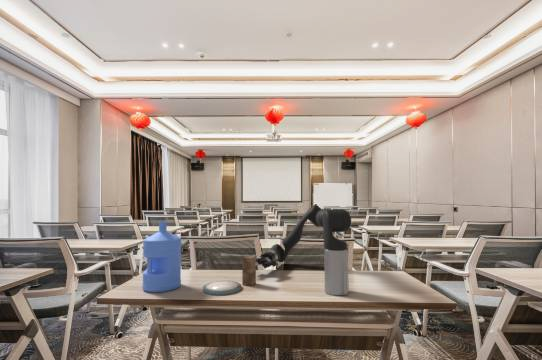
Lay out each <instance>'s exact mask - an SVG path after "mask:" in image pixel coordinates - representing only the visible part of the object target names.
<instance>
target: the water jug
mask: <svg viewBox="0 0 542 360" xmlns="http://www.w3.org/2000/svg"><path fill="white" fill-rule="evenodd" d="M167 222H168V221H159V222H158V224H159V225H158V231H157V232H156V233H154V234H151V235H149V236H148V237H147V238H146V237H145V238H144V239H143V243H142V246H143V247H142V250H143V254H142V255H143V257H145V258H146V269H145V270H144V271H143V272H142V284H141V285H142V287H141V288H142V290H143V291H144V292H147V293H167V292H170V291H174V290H176V289H178V288H180V286H181V284H182V278H181V274H182V273H181V269H182V255H181V254H182V238H181V236H179V235H176V234H174V233H171V232H169V231H168V230H167V226H168V225H167Z"/></svg>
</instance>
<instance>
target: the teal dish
mask: <svg viewBox="0 0 542 360" xmlns="http://www.w3.org/2000/svg"><path fill="white" fill-rule="evenodd" d="M241 290H242V284H241V283H239V282H237V281H234V280H233V281H232V280H219V281H212V282H209V283H206V284H205V285H203V286H202V292H203V293H204V294H206V295H210V296H227V295H228V296H229V295H233V294H236V293H238V292H240V291H241Z"/></svg>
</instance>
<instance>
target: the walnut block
mask: <svg viewBox="0 0 542 360" xmlns="http://www.w3.org/2000/svg"><path fill="white" fill-rule="evenodd" d="M256 258H257V256H255V255H245V256H243V257H242V261H241V263H242V264H241V265H242V266H241V267H242V269H241V270H242V272H241V273H242V274H241V275H242V278H241V279H242V284H241V286H244V287H253V286H255V285H256V284H257V266H256Z"/></svg>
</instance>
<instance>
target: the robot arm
mask: <svg viewBox="0 0 542 360" xmlns="http://www.w3.org/2000/svg"><path fill="white" fill-rule="evenodd" d="M307 221H309V222H310V223H312V224H313V226H315V227H317V228H322V229H323V253H324V254H323V257H324V258H323V259H324V260H323V261H324V264H323V265H324V266H323V267H324V293H326V294H328V295H332V296H348V295H349V291H350V287H349V286H350V284H349V283H350V281H349V267H348V266H349V265H348V263H349V261H348V243H347V242H346V241H345V240H342V239H339V238H337V237H336V236H334V234H333V233H344V232H347V231H349V230H350V228H351V226H352V217H351V214H350V212H349V211H348V210H346V209H343V208H342V209H341V208H340V209H339V208H336V209H335V208H334V209H330V208H321V207H320V206H319V205H318V204H313V205H311V206H310V207H309V208H308V209H307V211H306V212H305V213H304V214H303V216H302V217H301V218H300V219H299V221H297V223H296V224H295V226H294V227H293V228H292V230H291V231H290V232H289V233H288V234H287V236H285V237H284V238H283V240H282V242H281V244H282V245H283V247H284V248H283V247H282V245H280V244H278V243H275V244H273V245H272V246H271V248H270V249H269V250H267V251H265V252H263V253H262V254H260V256H259V257H256V267H257V266H262V267H263V268H265V269H266V268H270V267H276V266H277V265H278V263H283V262H285V260H287V258H288V257H289V254H290V252H291V250H292V249H294V247H295V246H296V245H298V243H299V242H300V241H301V238H302V237H303V231H304V228H305V224H306V222H307Z"/></svg>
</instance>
